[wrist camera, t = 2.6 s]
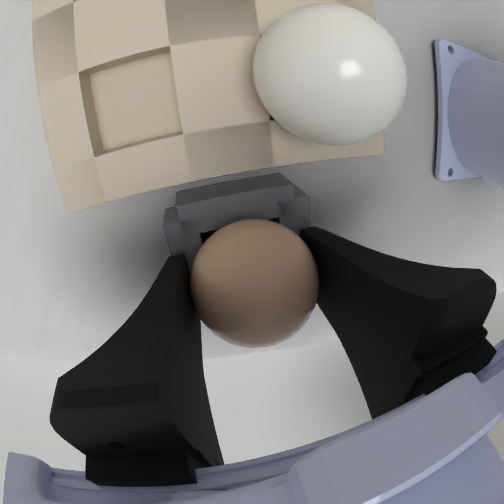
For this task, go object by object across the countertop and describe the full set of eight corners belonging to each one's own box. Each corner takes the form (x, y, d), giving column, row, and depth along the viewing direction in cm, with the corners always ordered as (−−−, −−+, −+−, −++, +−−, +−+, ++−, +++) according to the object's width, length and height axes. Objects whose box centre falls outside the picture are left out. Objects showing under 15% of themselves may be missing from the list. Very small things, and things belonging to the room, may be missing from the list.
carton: (328, -78, 6) (347, -92, 4) (360, 146, 12) (383, 155, 10) (55, -49, 4) (40, -63, 2) (82, 197, 10) (67, 213, 9)
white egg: (349, 25, 8) (430, 6, 4) (357, 131, 10) (438, 158, 6) (232, 22, 7) (269, -28, 4) (247, 141, 10) (291, 171, 6)
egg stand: (293, 171, 12) (308, 181, 10) (298, 276, 14) (309, 296, 13) (162, 195, 11) (159, 209, 10) (190, 301, 14) (193, 323, 12)
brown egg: (290, 191, 11) (347, 245, 7) (295, 282, 13) (335, 352, 10) (176, 213, 10) (175, 283, 7) (200, 304, 13) (212, 385, 9)
